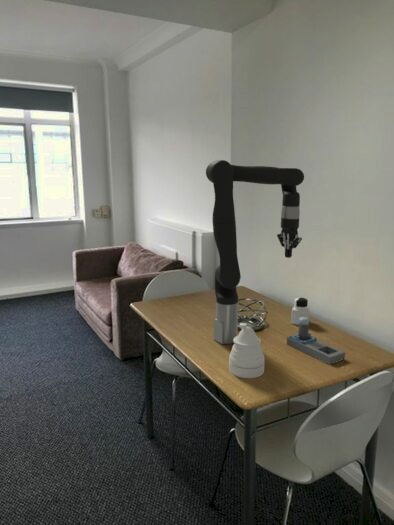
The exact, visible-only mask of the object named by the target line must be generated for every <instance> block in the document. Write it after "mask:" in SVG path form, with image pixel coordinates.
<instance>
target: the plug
mask: <svg viewBox="0 0 394 525" xmlns="http://www.w3.org/2000/svg"><path fill="white" fill-rule="evenodd" d="M309 328H310V317H309V318H307V317H300V318H299V325H298V331H297V332H298V333H297V334H298V336H299V337H300V338H299V339H300V340H302V341H305V340H308V332H309V330H310V329H309Z"/></svg>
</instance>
